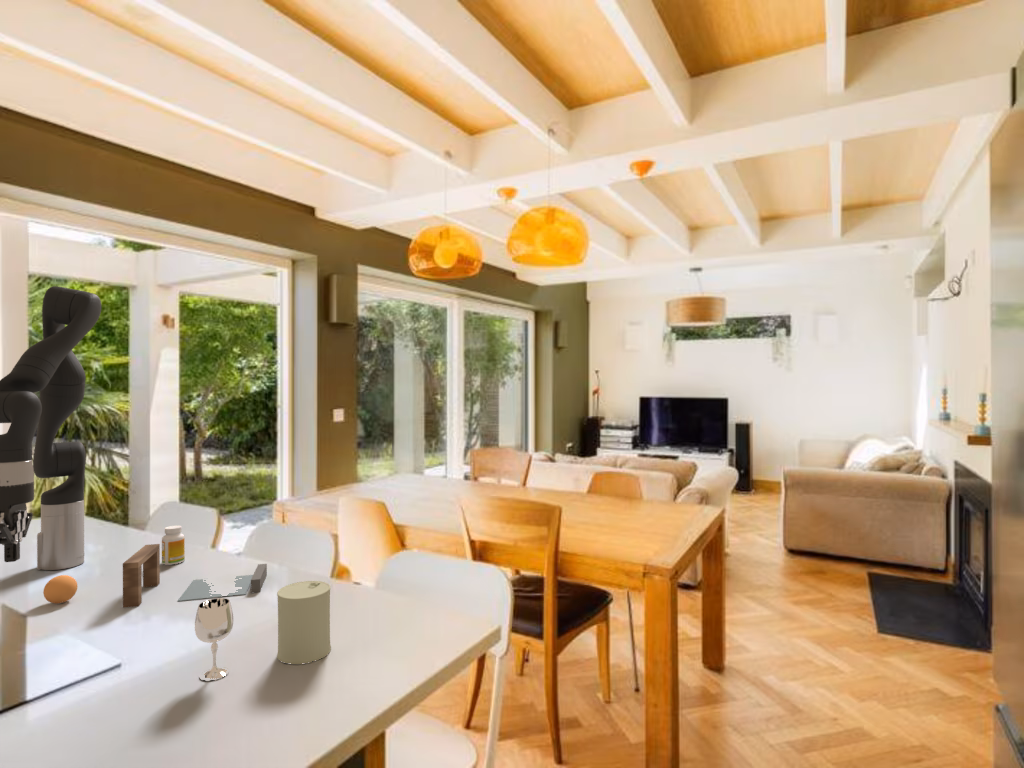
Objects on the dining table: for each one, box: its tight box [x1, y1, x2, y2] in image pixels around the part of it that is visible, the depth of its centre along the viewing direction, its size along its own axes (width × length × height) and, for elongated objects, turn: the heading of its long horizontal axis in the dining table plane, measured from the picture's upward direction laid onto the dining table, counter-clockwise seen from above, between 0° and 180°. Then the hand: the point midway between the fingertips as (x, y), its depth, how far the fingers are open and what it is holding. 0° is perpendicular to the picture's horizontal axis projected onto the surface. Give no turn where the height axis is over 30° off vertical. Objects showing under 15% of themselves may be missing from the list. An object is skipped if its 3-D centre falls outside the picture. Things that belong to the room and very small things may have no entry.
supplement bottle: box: [161, 525, 186, 566], centre depth 156 cm, size 5×5×10 cm
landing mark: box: [177, 574, 253, 602], centre depth 136 cm, size 14×14×1 cm
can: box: [276, 580, 332, 665], centre depth 103 cm, size 9×9×12 cm
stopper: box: [250, 563, 268, 594], centre depth 139 cm, size 2×12×3 cm, turn 17°
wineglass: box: [194, 597, 234, 679], centre depth 95 cm, size 6×6×12 cm
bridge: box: [122, 543, 161, 609], centre depth 132 cm, size 3×15×10 cm, turn 17°
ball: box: [42, 574, 78, 605], centre depth 127 cm, size 6×6×6 cm
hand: (12, 560), depth 124 cm, fingers closed
